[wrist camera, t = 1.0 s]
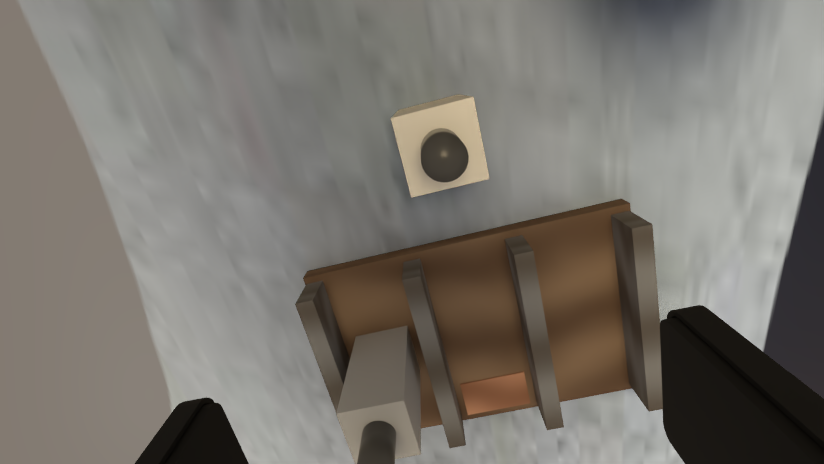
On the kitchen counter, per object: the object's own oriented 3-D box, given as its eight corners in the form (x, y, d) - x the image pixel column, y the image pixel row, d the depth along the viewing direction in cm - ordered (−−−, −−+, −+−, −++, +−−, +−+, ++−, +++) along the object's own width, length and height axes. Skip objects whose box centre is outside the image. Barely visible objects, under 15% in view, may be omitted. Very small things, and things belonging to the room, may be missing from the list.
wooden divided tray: (307, 271, 32) (291, 297, 28) (621, 198, 29) (653, 216, 26) (363, 428, 36) (356, 470, 32) (639, 375, 34) (668, 413, 30)
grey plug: (355, 336, 32) (325, 456, 22) (407, 325, 32) (401, 442, 21) (370, 379, 33) (348, 513, 23) (420, 369, 33) (420, 500, 22)
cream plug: (398, 109, 28) (386, 123, 17) (458, 94, 27) (482, 98, 17) (413, 169, 29) (410, 214, 19) (470, 154, 29) (500, 193, 18)
